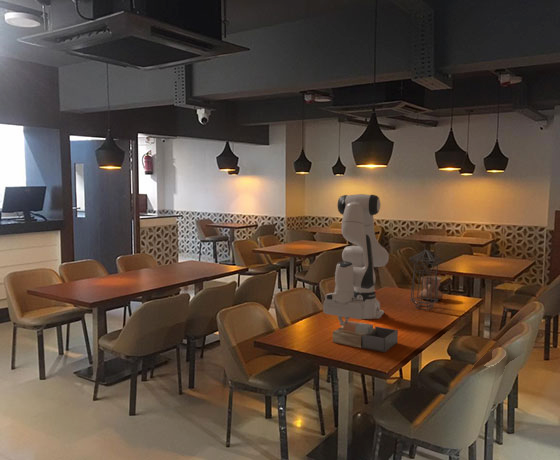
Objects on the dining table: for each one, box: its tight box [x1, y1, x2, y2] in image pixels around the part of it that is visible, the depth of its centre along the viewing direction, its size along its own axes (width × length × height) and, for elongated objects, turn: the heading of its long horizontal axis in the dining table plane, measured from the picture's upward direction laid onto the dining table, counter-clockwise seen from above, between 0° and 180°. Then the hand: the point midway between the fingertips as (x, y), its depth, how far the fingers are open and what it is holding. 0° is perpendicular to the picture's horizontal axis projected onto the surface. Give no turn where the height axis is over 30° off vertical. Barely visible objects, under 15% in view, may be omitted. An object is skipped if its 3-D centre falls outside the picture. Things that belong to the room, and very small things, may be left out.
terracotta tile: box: [343, 320, 361, 332], centre depth 227 cm, size 6×6×3 cm
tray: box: [361, 326, 399, 353], centre depth 220 cm, size 16×11×6 cm
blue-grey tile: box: [355, 322, 374, 334], centre depth 224 cm, size 6×6×3 cm
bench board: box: [332, 326, 375, 349], centre depth 227 cm, size 16×14×5 cm
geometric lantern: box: [409, 249, 443, 311], centre depth 292 cm, size 16×16×35 cm
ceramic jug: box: [418, 275, 443, 302], centre depth 315 cm, size 18×14×14 cm
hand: (343, 325), depth 230 cm, fingers closed
